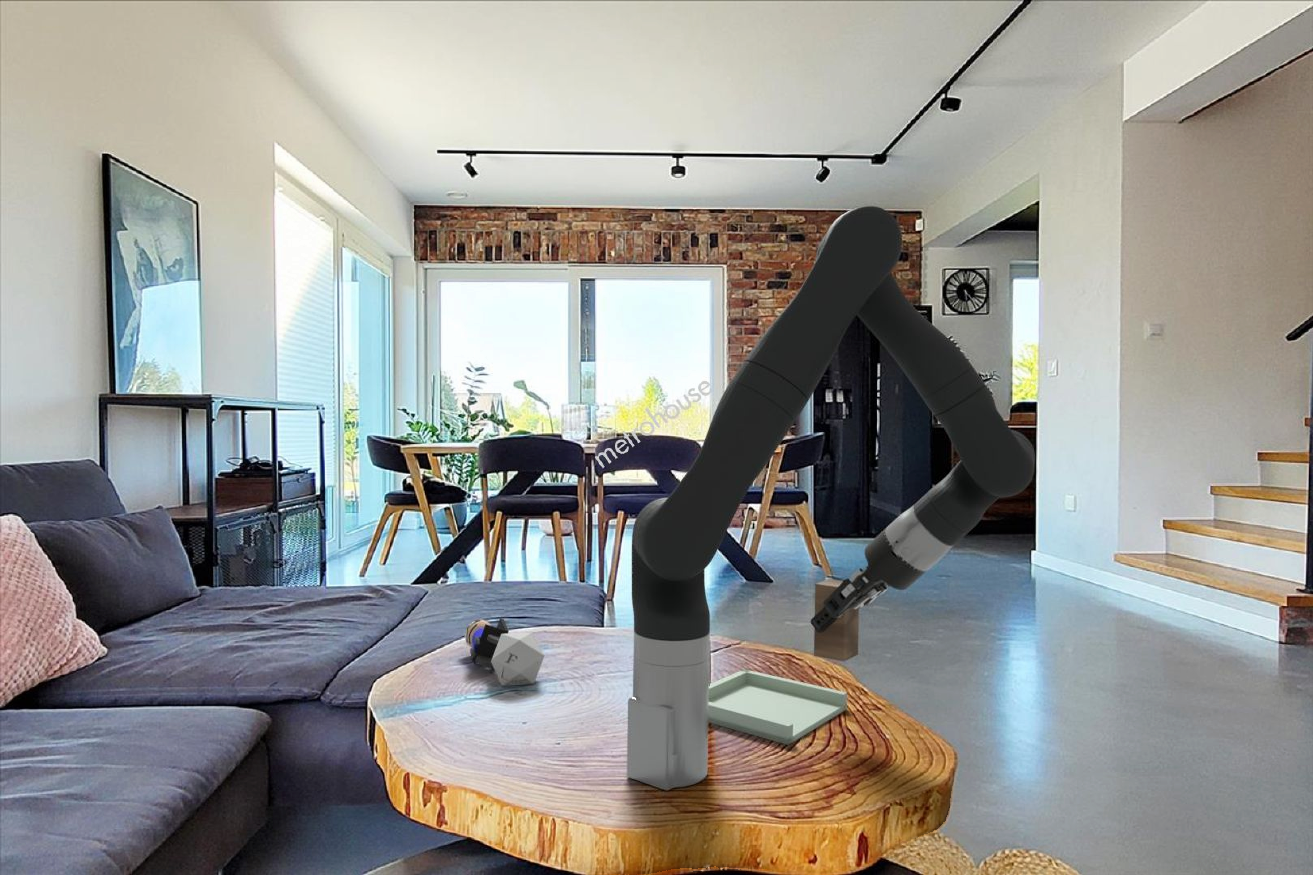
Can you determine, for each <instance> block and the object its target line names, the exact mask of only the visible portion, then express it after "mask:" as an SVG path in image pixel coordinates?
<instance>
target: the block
mask: <svg viewBox="0 0 1313 875" xmlns="http://www.w3.org/2000/svg"><path fill="white" fill-rule="evenodd" d="M843 581H844V580H838V579H832V578H831V579H826V580H823V581H819V582H815V584H814V586H815V587H814V616H815V615H816V614H818V613H819V612H820V611H821V610H822V609H823V608H824V607H825V606H824V604H823V602H824V601H825V600H826V599H827V598H828V597H829V596H830V595H831V594H832V593H833V592H834V591H835V590H836V589H837V588H838V587H839V586H840V584H841V583H842V582H843ZM854 602H857V601H856V599H855V600H854ZM836 603H837V602H836ZM837 605H838V606H839V604H838V603H837ZM839 607H840V606H839ZM859 620H860V610H859V607H858V608H857V609H849V610H848V611H847V612H846V613H845V614H843V616H842V617H841V618H840V617H839V618H838V619H837V620H836V621H834V622H833V623H832V624H831V625H830V626H829V627H828V628H827V629H826V630H824V631H823V632H821V633H819V632H817V631H816V629H815V628H814V627H813V628H814V629H813V630H814V631H813V633H814V636H813V637H814V640H813V643H814V644H813V645H814V646H813V656H815V657H819V658H824V659H829V660H835V661H839V662H846V661H848V660H850V659H852V658H854V657H856V656H859V629H860V628H859V623H860V622H859Z"/></svg>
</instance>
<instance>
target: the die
mask: <svg viewBox="0 0 1313 875" xmlns="http://www.w3.org/2000/svg"><path fill="white" fill-rule="evenodd" d="M544 658H545V654H544V652H543V650H542V648H541V646H540V644H539V642H538V639H537V638H536V637H535V634H534V632H533V631H532V632H531V631H529V632H512V633H511V632H510V633H509V632H508V634H501V636H500V639H499V641H498V644H497V647H496V650H495V652H494V655H493V658H492V660H491V663H492V665H493V667H494V672H495V673H496V675H497V676H496V677H497V678H498V680H499V682H500V684H501V686H502V687H504V686H505V687H507V686H520V685H521V686H524V685H534V684H535V683H536V682H535V681H536V679H537V677H538V674H539V671H540V669H541V666H542V664H543V660H544Z"/></svg>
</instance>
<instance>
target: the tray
mask: <svg viewBox="0 0 1313 875" xmlns="http://www.w3.org/2000/svg"><path fill="white" fill-rule="evenodd" d="M709 684H710V686H709V699H708V724H712V725H716V726H720V727H722V728H723V727H724V728H726V729H730V730H735V731H737V732H740V733H745V734H748V735H752V736H756V737H759V738H763V739H766V740H770V741H773V742H777V743H780V744H784V745H787V746H789V745H791V744H793V743H794V742H796V741H797V740H799V739H801V738H802V737H804V736H806V735H807V734H809V733H810V732H812V731H813V730H815V729H817V728H819V727H820V726H822V725H823V724H825V723H826V722H828V721H830V720H831V719H833V718H835V717H837V716H838V715H840V714H841V713H843V712H844V711H846V710H847V709H848V708H847V706H848V705H847V704H848V702H847V701H848V693H847V692H846V691H842V690H837V689H834V688H829V687H825V686H824V687H823V686H820V685H816V684H811V683H806V682H802V681H799V680H793V679H790V678H789V679H788V678H784V677H781V676H780V677H779V676H776V675H771V674H767V673H762V672H759V671H754V670H749V669H745V668H743V669H742V670H739V671H737V672H734V673H732V674H730V675H727V676H724V677H723V678H721V679H718V680H715V681H713V682H711V683H709Z"/></svg>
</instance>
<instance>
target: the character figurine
mask: <svg viewBox="0 0 1313 875" xmlns="http://www.w3.org/2000/svg"><path fill="white" fill-rule="evenodd" d="M508 633H509V628H508V626H507V624H506V621H505V619H504V618H503V617H500V618H499V620H498V623H497V625H496V626H494V625H491V623H490V622H488V621H487V620H483V619H477V620H473V621H472V622H470V623H469V624H468V626H467V627H466V629H465V631H464V639H465V642H466V644H467V645H468V646H469V647H470V649H469V653H470V656H471V657H472V659H471V661H470V662H471V663H473V664H477V665H480V666H482V667H484V668H487V669H494V667H493V665H492V663H491V660H492V658H493V655H494V652H495V650H496V647H497V644H498V641H499V639H500V636H501V634H508ZM494 670H495V669H494Z"/></svg>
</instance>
